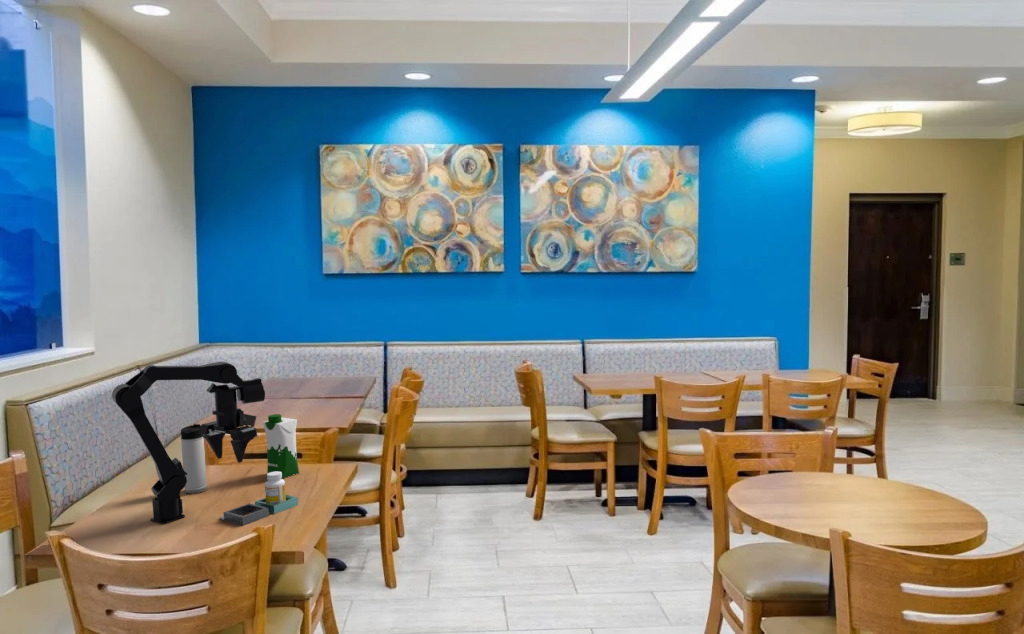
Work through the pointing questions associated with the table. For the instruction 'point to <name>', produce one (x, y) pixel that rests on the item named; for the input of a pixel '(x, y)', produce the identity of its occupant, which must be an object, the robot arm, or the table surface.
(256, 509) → the grey and teal tray
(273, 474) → the supplement bottle
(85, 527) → the table surface
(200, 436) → the travel mug
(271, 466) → the milk carton
